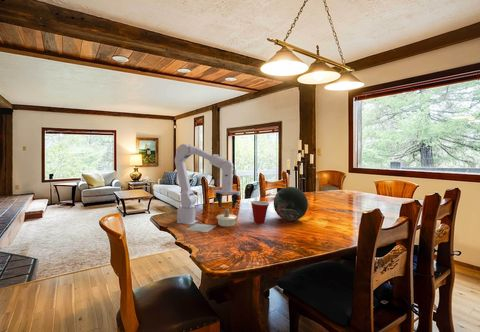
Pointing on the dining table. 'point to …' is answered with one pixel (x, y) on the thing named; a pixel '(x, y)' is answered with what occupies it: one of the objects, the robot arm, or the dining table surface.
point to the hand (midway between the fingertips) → (226, 207)
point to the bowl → (226, 222)
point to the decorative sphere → (290, 203)
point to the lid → (226, 216)
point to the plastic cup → (259, 211)
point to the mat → (201, 227)
